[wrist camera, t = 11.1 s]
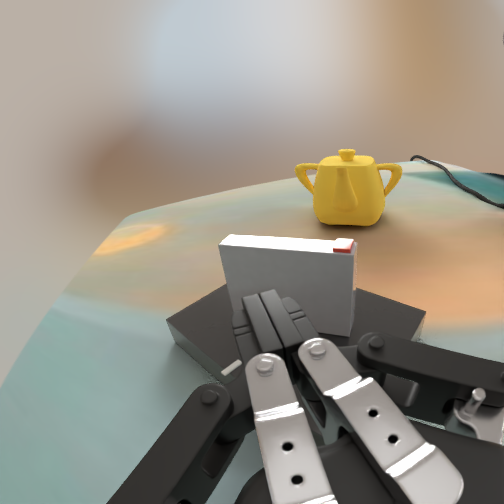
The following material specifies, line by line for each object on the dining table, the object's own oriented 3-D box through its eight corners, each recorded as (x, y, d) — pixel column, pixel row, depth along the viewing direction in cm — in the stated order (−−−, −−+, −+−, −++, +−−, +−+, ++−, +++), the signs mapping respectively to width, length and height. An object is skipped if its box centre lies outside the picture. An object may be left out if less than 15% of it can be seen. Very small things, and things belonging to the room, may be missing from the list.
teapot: (412, 223, 37) (414, 152, 32) (342, 246, 34) (339, 161, 29) (357, 199, 49) (353, 142, 44) (293, 214, 46) (286, 151, 41)
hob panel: (171, 343, 23) (161, 319, 22) (274, 277, 30) (271, 254, 29) (328, 465, 12) (331, 448, 11) (421, 333, 19) (428, 307, 18)
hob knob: (234, 317, 21) (216, 241, 18) (244, 304, 22) (229, 231, 20) (349, 337, 17) (353, 251, 15) (353, 321, 19) (357, 238, 16)
